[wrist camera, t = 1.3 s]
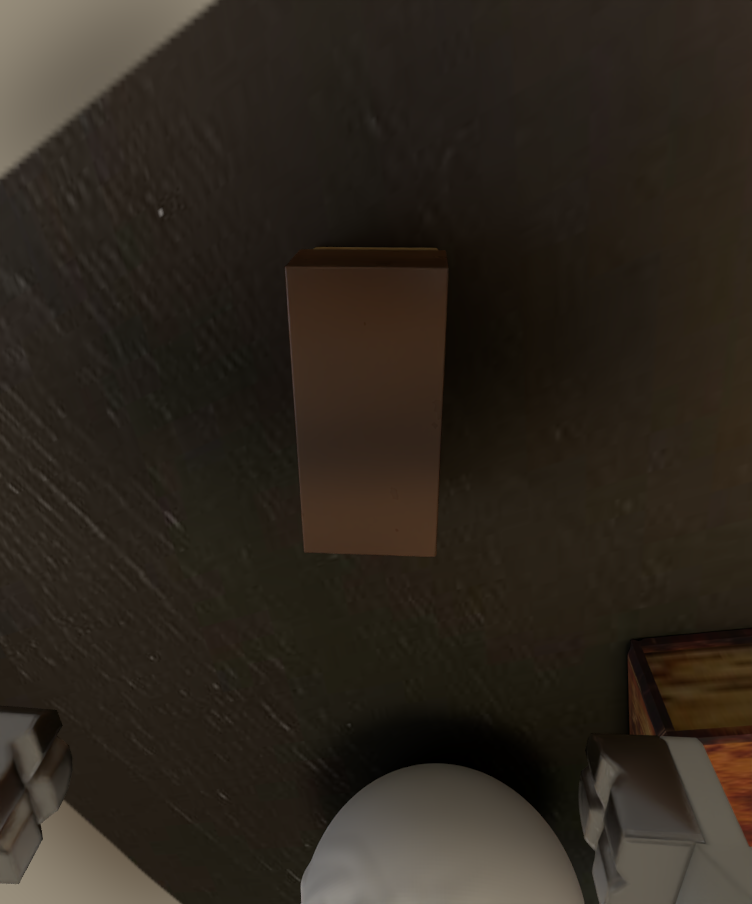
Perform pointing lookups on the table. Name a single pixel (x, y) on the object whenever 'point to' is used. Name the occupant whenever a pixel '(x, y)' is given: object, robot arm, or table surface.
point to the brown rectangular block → (368, 395)
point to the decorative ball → (439, 845)
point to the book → (700, 702)
